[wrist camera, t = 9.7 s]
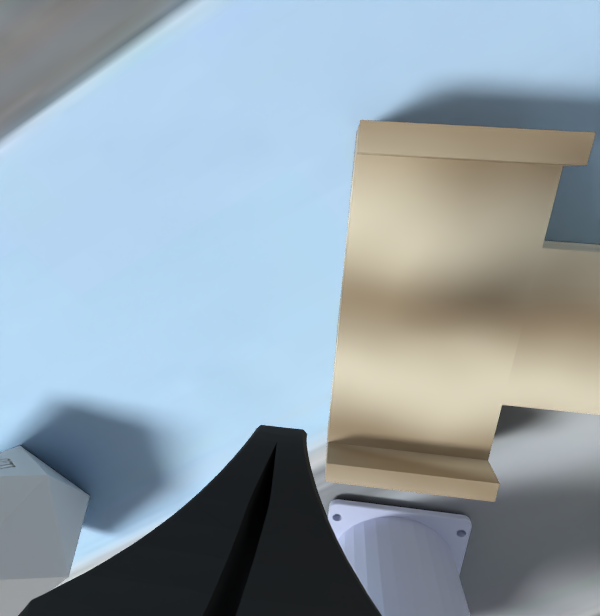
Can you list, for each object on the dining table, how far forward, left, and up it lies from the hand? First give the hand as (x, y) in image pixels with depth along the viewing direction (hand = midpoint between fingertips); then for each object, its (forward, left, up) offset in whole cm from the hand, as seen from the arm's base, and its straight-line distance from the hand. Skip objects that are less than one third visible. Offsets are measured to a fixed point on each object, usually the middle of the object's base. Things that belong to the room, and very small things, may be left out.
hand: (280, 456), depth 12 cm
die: (-12, +16, -10) cm, 22 cm away
